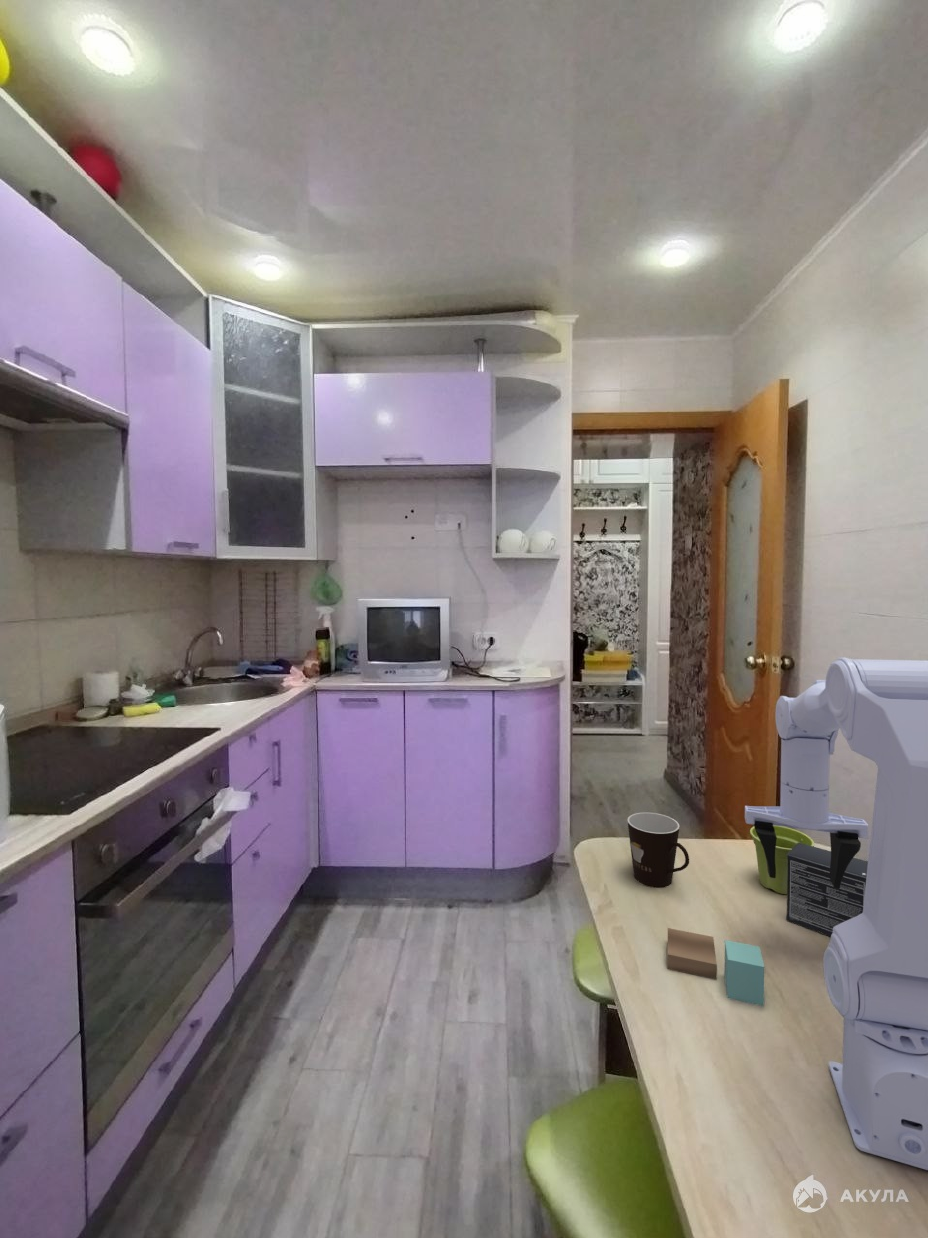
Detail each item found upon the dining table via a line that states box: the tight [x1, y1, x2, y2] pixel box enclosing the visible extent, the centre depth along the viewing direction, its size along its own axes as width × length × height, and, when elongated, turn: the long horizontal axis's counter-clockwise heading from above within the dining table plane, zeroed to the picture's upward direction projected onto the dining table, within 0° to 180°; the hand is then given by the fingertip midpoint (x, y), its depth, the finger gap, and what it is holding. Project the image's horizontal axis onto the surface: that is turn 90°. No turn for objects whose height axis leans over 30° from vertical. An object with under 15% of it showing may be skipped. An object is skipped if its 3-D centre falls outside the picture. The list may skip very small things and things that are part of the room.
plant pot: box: [749, 825, 815, 895], centre depth 92 cm, size 9×9×9 cm
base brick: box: [667, 927, 718, 980], centre depth 75 cm, size 6×6×2 cm
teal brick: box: [723, 939, 765, 1007], centre depth 69 cm, size 4×4×5 cm
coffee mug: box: [627, 811, 690, 889], centre depth 94 cm, size 12×9×10 cm
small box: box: [785, 843, 868, 938], centre depth 81 cm, size 11×6×10 cm, turn 45°
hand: (802, 879), depth 76 cm, fingers open, 7 cm apart
